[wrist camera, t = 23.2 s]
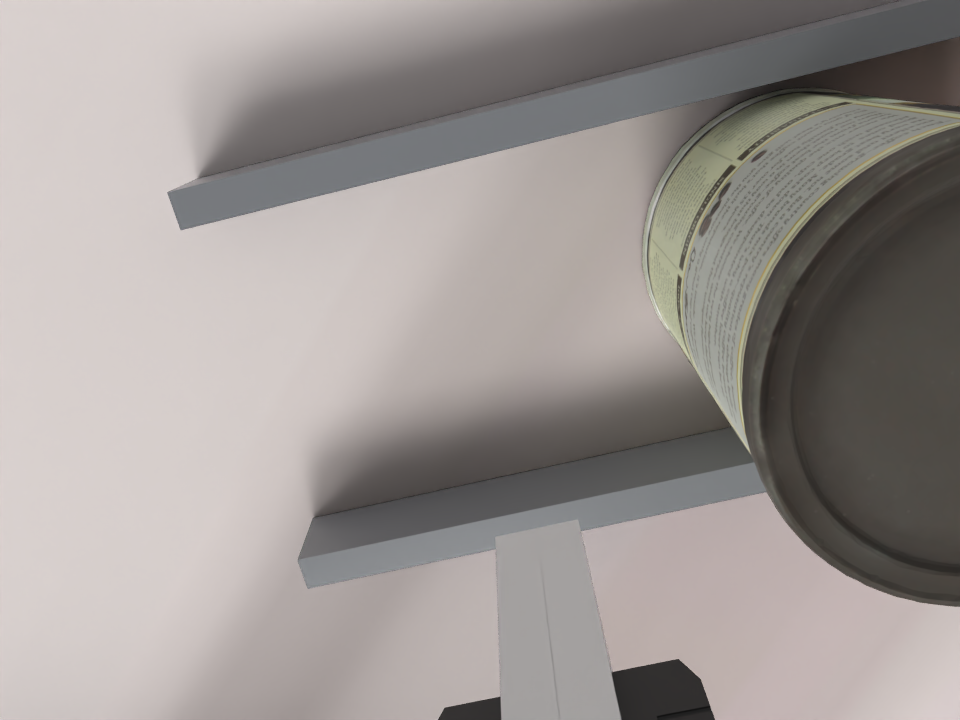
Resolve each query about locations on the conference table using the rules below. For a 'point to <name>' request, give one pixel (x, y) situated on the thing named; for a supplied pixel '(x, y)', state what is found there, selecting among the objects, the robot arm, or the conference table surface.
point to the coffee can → (828, 317)
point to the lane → (531, 118)
